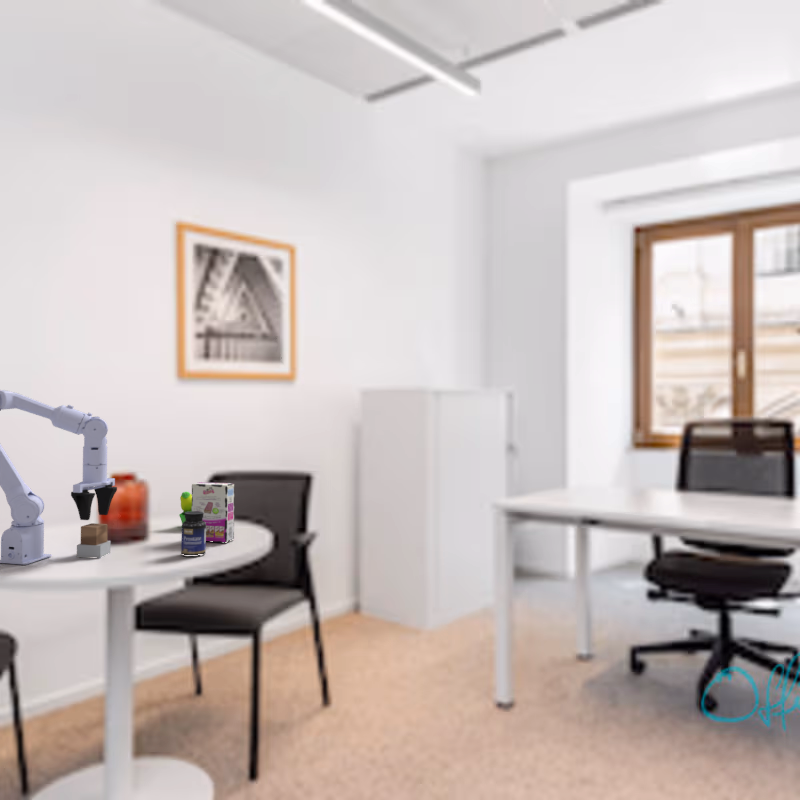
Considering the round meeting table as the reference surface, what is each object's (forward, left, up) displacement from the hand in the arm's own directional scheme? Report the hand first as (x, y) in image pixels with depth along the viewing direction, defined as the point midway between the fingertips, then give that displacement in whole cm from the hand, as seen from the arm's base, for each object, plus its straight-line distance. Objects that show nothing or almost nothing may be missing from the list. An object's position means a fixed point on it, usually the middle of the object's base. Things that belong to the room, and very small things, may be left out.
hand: (94, 517), depth 181 cm
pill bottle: (+7, -24, -10) cm, 27 cm away
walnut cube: (0, 0, -7) cm, 7 cm away
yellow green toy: (+40, -7, -10) cm, 42 cm away
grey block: (0, 0, -10) cm, 10 cm away
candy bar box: (+24, -21, -10) cm, 33 cm away
